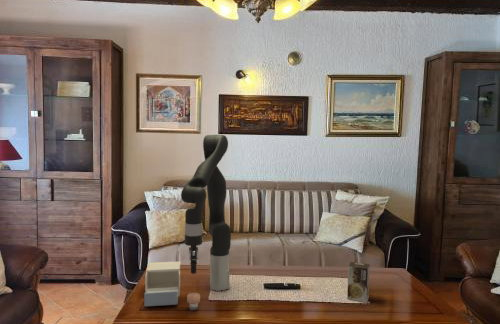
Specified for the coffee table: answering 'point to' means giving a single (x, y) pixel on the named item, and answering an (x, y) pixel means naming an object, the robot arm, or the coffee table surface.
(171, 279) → the beige shelf
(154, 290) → the tray
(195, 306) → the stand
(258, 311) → the coffee table surface
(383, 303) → the coffee table surface
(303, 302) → the coffee table surface
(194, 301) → the tan dome knob
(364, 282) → the coffee box
